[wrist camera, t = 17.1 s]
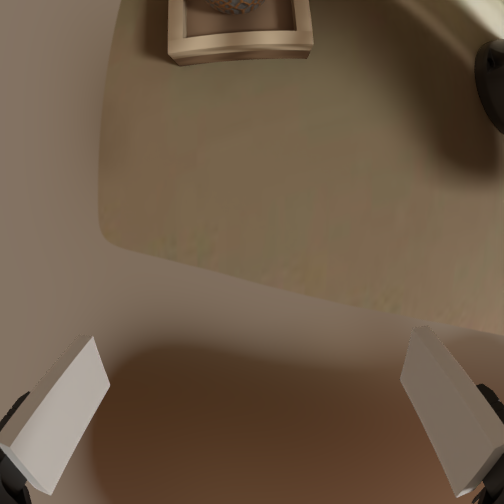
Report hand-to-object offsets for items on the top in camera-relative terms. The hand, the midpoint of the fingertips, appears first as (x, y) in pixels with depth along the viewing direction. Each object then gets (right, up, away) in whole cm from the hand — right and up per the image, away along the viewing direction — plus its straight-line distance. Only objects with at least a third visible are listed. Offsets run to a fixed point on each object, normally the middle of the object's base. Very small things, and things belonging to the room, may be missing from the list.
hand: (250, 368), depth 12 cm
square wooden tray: (-1, +32, +16) cm, 36 cm away
